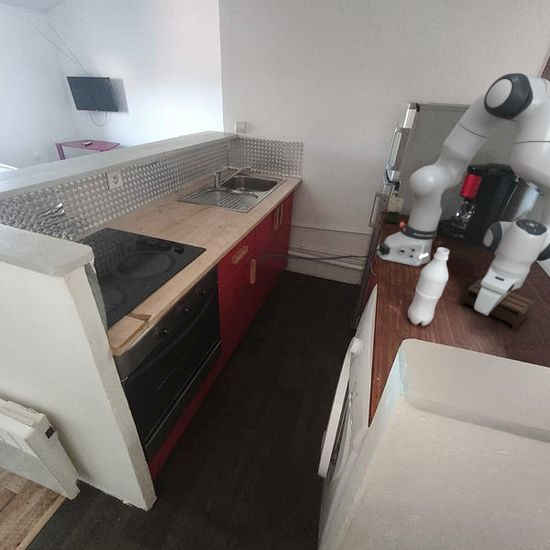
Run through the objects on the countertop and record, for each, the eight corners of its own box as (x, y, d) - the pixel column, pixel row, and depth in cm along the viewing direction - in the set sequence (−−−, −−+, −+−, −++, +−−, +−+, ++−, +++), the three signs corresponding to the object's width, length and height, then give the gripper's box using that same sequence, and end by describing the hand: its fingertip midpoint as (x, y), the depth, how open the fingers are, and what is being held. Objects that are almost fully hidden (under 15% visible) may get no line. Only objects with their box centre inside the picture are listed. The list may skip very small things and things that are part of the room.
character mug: (401, 225, 160) (407, 202, 153) (388, 225, 160) (394, 202, 153) (393, 218, 169) (399, 196, 163) (381, 218, 169) (386, 196, 162)
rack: (513, 330, 89) (523, 313, 86) (459, 304, 100) (466, 288, 97) (525, 317, 95) (535, 301, 92) (472, 294, 106) (479, 279, 102)
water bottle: (401, 313, 95) (424, 244, 82) (422, 312, 96) (448, 243, 83) (412, 328, 89) (438, 256, 76) (434, 327, 90) (464, 255, 77)
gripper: (506, 261, 93) (488, 296, 100) (479, 282, 82) (461, 320, 89) (529, 269, 89) (509, 305, 96) (505, 292, 78) (484, 331, 85)
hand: (486, 312), depth 92 cm, fingers closed
